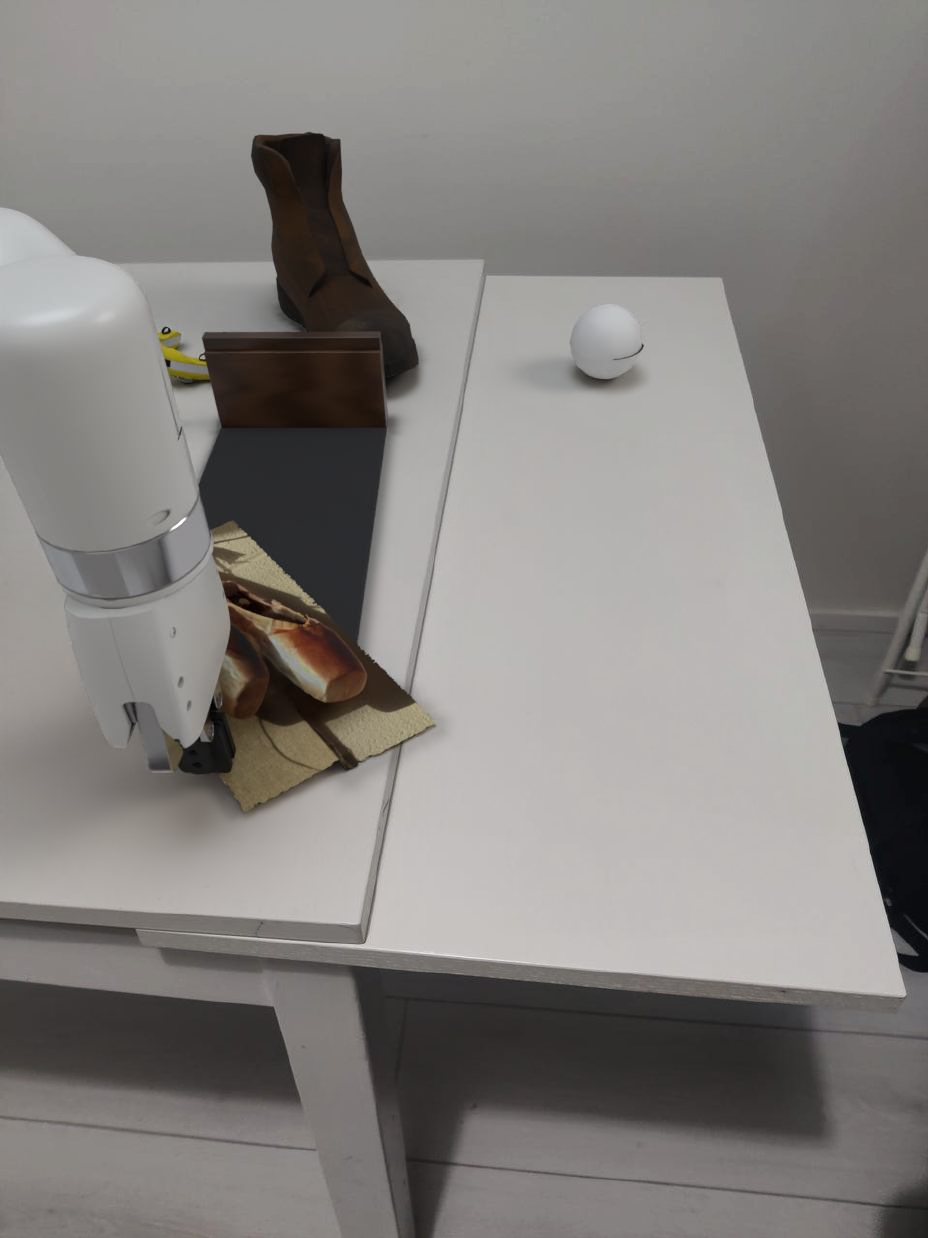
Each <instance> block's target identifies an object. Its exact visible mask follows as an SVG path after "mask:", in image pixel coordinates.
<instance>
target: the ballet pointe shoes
mask: <svg viewBox="0 0 928 1238" xmlns="http://www.w3.org/2000/svg"><path fill="white" fill-rule="evenodd" d="M211 533H212V537H213V541H214V545H213V553H212V556H213V558H214V561H215V564H216V567H217V570H218V573H219V576H220V579H221V583H222V586H223V589H224V593H225V597H226V601H227V605H228V610H229V616H230V634H229V640H228V644H227V648H226V652H225V656H224V659H223V663H222V666H221V670H220V673H219V682H220V686H221V691H222V696H223V704H222V708H221V710H220V711H217V712H225V715H226V718H227V721H228V725H229V728H230V731H231V734H232V737H233V741H234V744H235V747H236V753H235V757H234V758H232V762H233V765H232V769H231V771H230V772H229V773H217V774H218V775H219V778H220V780H222V782H223V785H224V786H228V787H229V789H230V791H231V792H233V793H234V794H235V795H234V796H233V798H234V799H235V800H237V801H238V802H239V803H240V805H241V806H240V808H241V810H242V812H243V813H247V812H249V811H250V810H252V809H254V807H255V805H256V806H258V803H261V804H264V805H266V803H267V801H269V799H274V798H277V797H278V796H280V795H281V793H282V792H283V793H285V792H287V791H289V790H290V787H292V788H295V786H298V785H299V784H301V783H302V782H304V781H305V780H307V779H310V778H311V777H313V775H315V774H318V773H319V772H322V771H324V770H326V769H327V768H329V767H332V765H333V764H334V762H339V764H341V766H342V767H343V769H344V770H345V771H346V772H348V770H351V769H353V768H356V767H358V765H359V762H363V760H364V761H367V759H366V758H369V756H372V758H374V756H376V755H379V754H382V753H383V752H384V751H386V750H389V749H390V748H391V747H395V746H396V745H399V744H400V743H401V742H403V741H406V740H407V739H408V738H411V737H413V736H414V735H418V734H419V733H422V732H423V731H425V730H426V728H428V727H431V726H432V725H435V724H436V723H437V721H436V720H434V719H433V717H432V716H430V715H429V713H428V711H426V710H425V709H424V708H422V707H421V705H420V704H419V703H418V702H417V701H416V700H415V698H413V696H411V694H409V693H408V692H407V691H406V690H405V689H403V687H401V685H400V684H399V683H398V682H397V681H396V680H395V679H394V678H393V677H392V676H390V674H389V673H388V672H387V671H386V670H385V668H383V667H381V665H380V664H379V663H378V662H377V661H376V659H375V658H374V659H373V658H372V656H370V654H369V653H367V652H366V651H365V649H361V646H360V645H359V644H358V641H357V642H355V641H354V640H353V639H351V636H349V634H347V633H346V632H345V631H344V629H341V628H340V625H339V626H337V625H338V624H337V623H334V621H333V620H332V618H331V617H330V616H329V615H328V614H327V613H326V612H325V611H324V609H322V607H321V606H319V605H318V606H317V604H316V603H315V604H313V602H315V601H314V599H313V598H310V596H309V595H307V593H306V592H305V593H304V592H302V591H303V590H302V588H300V586H298V585H297V584H296V582H295V581H294V580H292V579H290V576H288V574H285V571H283V569H282V568H281V567H279V565H278V564H277V565H276V562H274V560H272V559H271V558H270V556H268V557H267V553H265V552H264V551H263V549H262V548H260V547H259V545H257V543H256V542H255V541H254V540H252V539H251V537H250V536H247V534H246V533H245V532H244V530H241V528H239V527H238V524H236V523H235V522H234V521H229V522H227V523H225V524H223V525H222V526H220V527H217V528H214V529H212V530H211ZM356 643H357V644H356Z"/></svg>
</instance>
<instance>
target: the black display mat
mask: <svg viewBox="0 0 928 1238" xmlns="http://www.w3.org/2000/svg"><path fill="white" fill-rule="evenodd" d="M386 436H387V428H221V427H220V428H219V431H218V434H217V436H216V438H215V441H214V444H213V446H212V449H211V452H210V454H209V456H208V459H207V461H206V464H205V467H204V469H203V472H202V475H201V477H200V480H199V482H198V485H199V488H200V492H201V496H202V500H203V503H204V507H205V511H206V514H207V518H208V522H209V526H210V530H212V529H214V528H217V527H220V526H222V525H223V524H225V523H227V522H229V521H234V522H235V523H236V524H238V527H239V528H241V530H244V532H245V533H246V534H247V536H250V537H251V539H252V540H254V541H255V542H256V543H257V545H259V547H260V548H262V549H263V551H264V552H265V553H267V557H268V556H270V558H271V559H272V560H274V562H276V565H277V564H278V565H279V567H281V568H282V569H283V571H285V574H288V576H290V579H292V580H294V581H295V582H296V584H297V585H298V586H300V588H302V590H303V591H302V592H304V593H305V592H306V593H307V595H309V596H310V598H313V599H314V601H315V602H313V604H315V603H316V604H317V606H318V605H319V606H321V607H322V609H324V611H325V612H326V613H327V614H328V615H329V616H330V617H331V618H332V620H333V621H334V623H337V624H338V625H337V626H339V625H340V628H341V629H344V631H345V632H346V633H347V634H349V636H351V639H353V640H354V641H355V642H357V643H356V644H358V640H359V632H360V626H361V625H360V624H361V617H362V611H363V603H364V595H365V590H366V589H365V587H366V581H367V574H368V567H369V559H370V552H371V545H372V539H373V538H372V537H373V531H374V523H375V516H376V509H377V500H378V494H379V486H380V479H381V473H382V465H383V458H384V452H385V451H384V450H385V444H386V438H387V437H386Z"/></svg>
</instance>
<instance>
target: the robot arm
mask: <svg viewBox="0 0 928 1238" xmlns="http://www.w3.org/2000/svg"><path fill="white" fill-rule="evenodd" d="M156 325H157V324H156V322H155V318H154V315H153V311H152V308H151V305H150V302H149V300H148V298H147V296H146V294H145V292H144V290H143V289H142V287H141V286H140V283H138V282H137V280H136V279H135V278H134V277H132V276H131V275H130V274H129V273H128V272H127V271H126V270H125V269H124V268H122V267H120V266H118V265H116V264H114V263H111V262H109V261H107V260H104V259H100V258H97V257H92V256H87V255H85V256H84V255H78V254H77V253H76V252H74V250H72V249H71V248H70V247H69V246H67V245H66V244H65V243H64V242H63V241H62V240H61V239H60V238H58V237H57V235H55V233H53V232H52V231H51V230H50V229H48V228H47V227H46V226H45V225H43V224H42V223H41V222H39V221H38V220H36V219H34V218H33V217H32V216H29V215H28V214H27V213H23V212H22V211H19V210H17V209H12V208H9V207H3V206H0V457H1V460H2V462H3V464H4V466H5V468H6V470H7V473H8V475H9V478H10V479H11V482H12V484H13V487H14V488H15V490H16V492H17V495H18V498H19V499H20V501H21V504H22V506H23V509H24V511H25V513H26V515H27V518H28V519H29V522H30V525H31V527H32V528H33V530H34V533H35V535H36V537H37V539H38V541H39V544H40V546H41V548H42V551H43V552H44V555H45V556H46V559H47V562H48V564H49V567H50V568H51V571H52V573H53V575H54V577H55V579H56V581H57V584H58V585H59V588H60V589H61V590H62V592H64V593H65V594H66V596H65V600H64V605H63V607H64V613H65V619H66V620H65V621H66V625H67V630H68V636H69V639H70V643H71V649H72V652H73V655H74V659H75V662H76V666H77V669H78V672H79V675H80V677H81V680H82V683H83V686H84V689H85V692H86V695H87V698H88V700H89V702H90V705H91V708H92V710H93V714H94V715H95V718H96V720H97V722H98V725H99V727H100V729H101V732H102V734H103V736H104V738H105V740H106V741H107V743H108V744H109V745H110V746H111V747H112V748H114V749H128V746H129V745H130V740H131V738H132V735H133V732H134V730H135V727H136V724H137V725H138V730H139V733H140V738H141V742H142V746H143V750H144V754H145V759H146V762H147V767H148V771H149V772H150V773H152V774H153V773H155V774H156V773H159V774H161V773H162V774H165V773H166V774H171V773H172V774H174V773H175V772H176V771H177V768H178V769H179V770H180V772H182V773H185V774H192V775H199V776H200V775H202V776H203V775H205V776H206V775H210V774H218V773H229V772H230V771H231V769H232V765H233V762H232V758H234V757H235V753H236V747H235V744H234V741H233V737H232V734H231V731H230V728H229V725H228V721H227V718H226V715H225V712H217V711H220V710H221V708H222V704H223V696H222V691H221V686H220V682H219V673H220V670H221V666H222V663H223V659H224V656H225V652H226V648H227V644H228V640H229V634H230V616H229V610H228V605H227V601H226V597H225V593H224V589H223V586H222V583H221V579H220V576H219V573H218V570H217V567H216V564H215V561H214V558H213V556H212V553H213V545H214V541H213V537H212V533H211V530H210V526H209V522H208V518H207V514H206V511H205V507H204V503H203V500H202V496H201V492H200V488H199V482H198V479H197V476H196V472H195V468H194V465H193V461H192V457H191V454H190V450H189V445H188V442H187V437H186V434H185V430H184V426H183V422H182V419H181V415H180V410H179V408H178V403H177V400H176V396H175V393H174V389H173V386H172V382H171V376H170V375H169V374H168V370H167V366H166V363H165V359H164V355H163V351H162V348H161V344H160V340H159V336H158V333H159V332H158V330H157V326H156Z"/></svg>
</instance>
